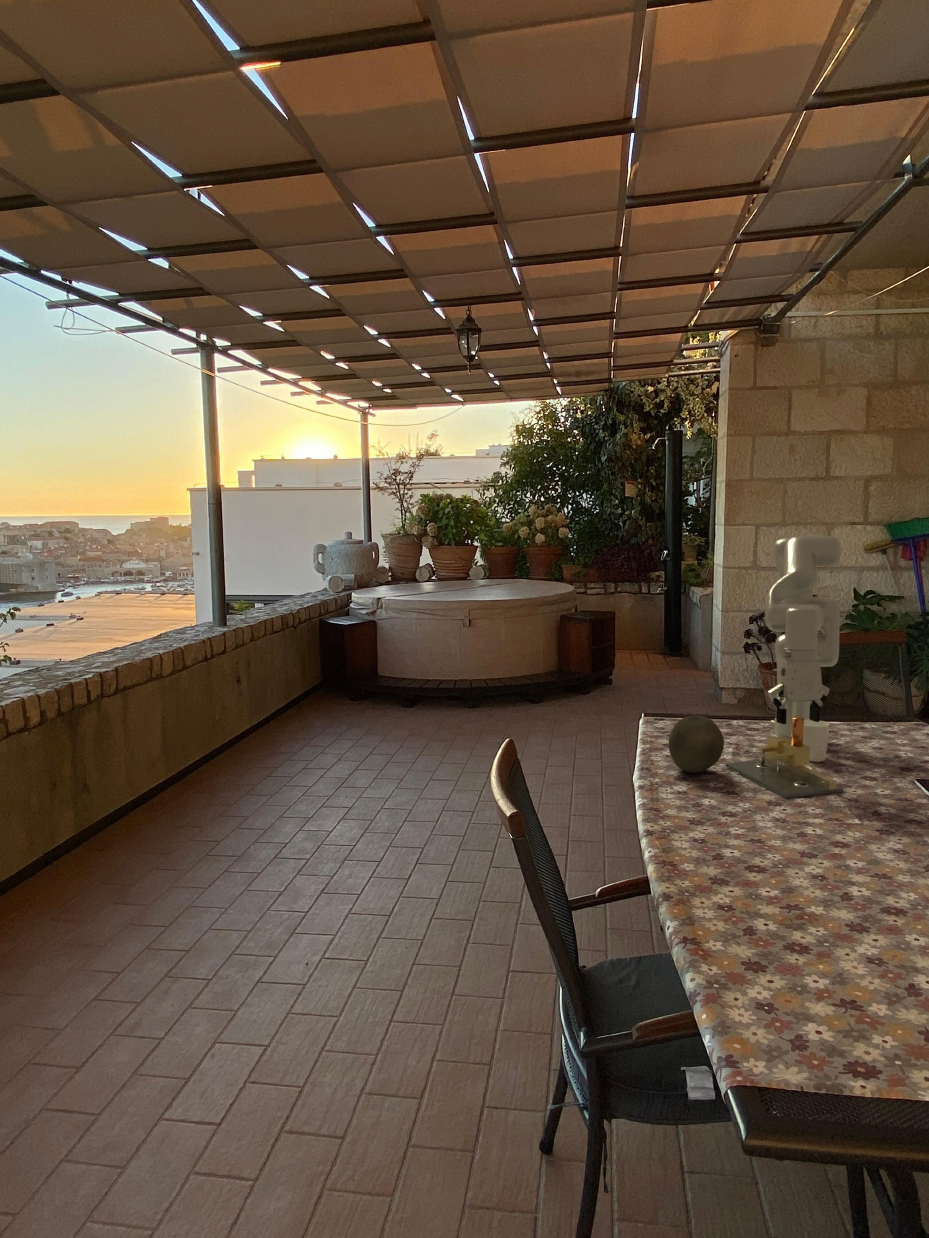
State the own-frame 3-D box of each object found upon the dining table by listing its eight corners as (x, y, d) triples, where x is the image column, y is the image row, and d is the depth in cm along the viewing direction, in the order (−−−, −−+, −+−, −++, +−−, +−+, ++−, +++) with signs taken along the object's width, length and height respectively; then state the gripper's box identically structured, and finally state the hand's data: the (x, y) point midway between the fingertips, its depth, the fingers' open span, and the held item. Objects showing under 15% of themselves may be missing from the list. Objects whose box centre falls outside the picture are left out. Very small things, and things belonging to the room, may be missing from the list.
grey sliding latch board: (725, 766, 223) (725, 737, 222) (777, 761, 227) (778, 733, 226) (785, 798, 198) (786, 765, 197) (843, 792, 202) (844, 759, 201)
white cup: (823, 764, 224) (825, 728, 223) (793, 759, 229) (794, 723, 228) (831, 757, 230) (832, 722, 229) (801, 752, 235) (802, 718, 234)
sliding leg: (771, 769, 215) (772, 717, 213) (797, 766, 217) (799, 715, 215) (781, 774, 211) (783, 721, 209) (808, 771, 213) (810, 719, 211)
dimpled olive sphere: (661, 776, 216) (662, 719, 214) (675, 761, 228) (676, 708, 226) (717, 784, 209) (719, 725, 207) (728, 768, 221) (729, 713, 220)
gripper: (779, 659, 205) (777, 727, 207) (839, 656, 209) (836, 723, 211) (761, 655, 212) (759, 721, 214) (819, 652, 216) (817, 716, 218)
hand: (797, 722), depth 212 cm, fingers open, 9 cm apart
